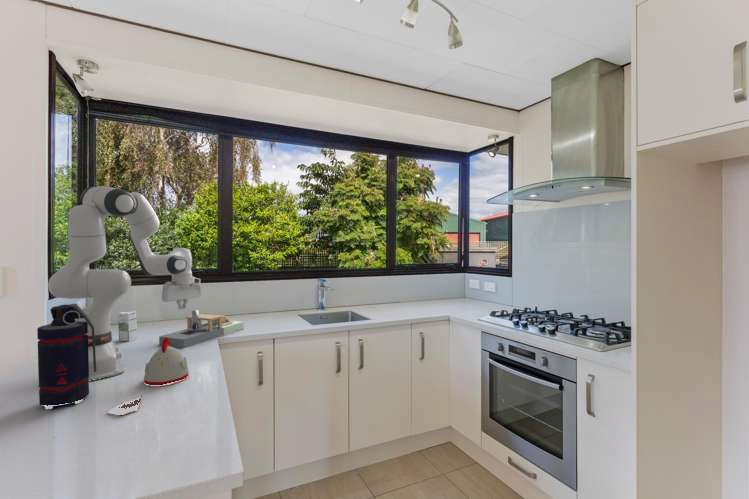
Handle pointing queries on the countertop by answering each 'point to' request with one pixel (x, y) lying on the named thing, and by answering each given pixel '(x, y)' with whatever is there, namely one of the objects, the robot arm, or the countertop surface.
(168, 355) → the grey dome
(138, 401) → the shard
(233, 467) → the countertop surface
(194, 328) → the slider
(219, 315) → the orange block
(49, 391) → the grenade
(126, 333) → the syrup box
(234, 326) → the tunnel deck
